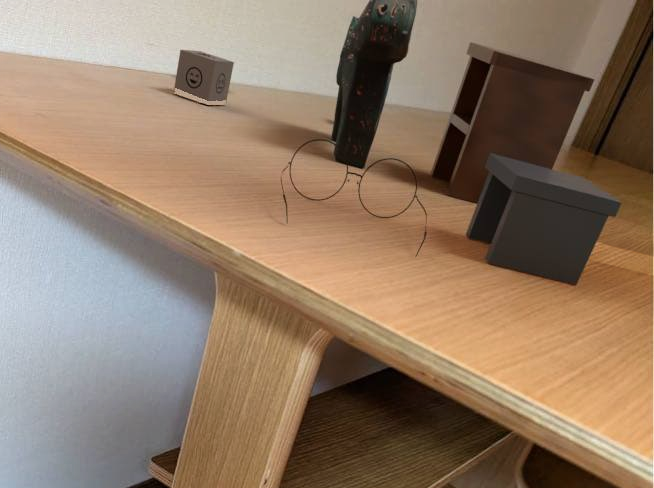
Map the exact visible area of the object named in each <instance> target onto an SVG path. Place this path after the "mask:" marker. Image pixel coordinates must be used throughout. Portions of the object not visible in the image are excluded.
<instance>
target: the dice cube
mask: <svg viewBox="0 0 654 488" xmlns="http://www.w3.org/2000/svg"><path fill="white" fill-rule="evenodd" d="M234 64H235V61H232V60H228V59H225V58H222V57H219V56H216V55H213V54H211V53H207V52H204V51H201V50H191V49H180V51H179V56H178V62H177V69H176V75H175V82H174V88H177V89H180V90H182V91H184V92H187V93H189V94H192V95H194V96H197V97H199V98H202V99H205V100H207V101H216V100H217V101H223V100H226V102H227V101H228V100H227V99H228V95H229V90H230V84H231V79H232V74H233V69H234ZM174 88H173V89H174Z"/></svg>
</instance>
